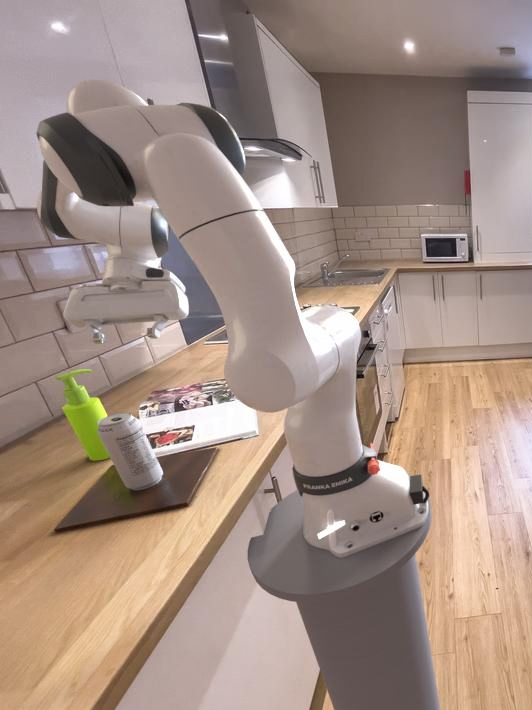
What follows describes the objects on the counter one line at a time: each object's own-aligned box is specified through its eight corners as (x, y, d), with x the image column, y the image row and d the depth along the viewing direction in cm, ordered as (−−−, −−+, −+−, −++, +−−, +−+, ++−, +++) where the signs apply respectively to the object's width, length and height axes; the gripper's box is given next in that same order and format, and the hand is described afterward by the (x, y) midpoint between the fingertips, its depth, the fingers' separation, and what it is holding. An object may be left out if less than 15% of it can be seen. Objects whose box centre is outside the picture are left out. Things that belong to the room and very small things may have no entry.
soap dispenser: (134, 447, 97) (96, 369, 88) (97, 463, 91) (53, 381, 82) (120, 441, 99) (82, 365, 90) (84, 457, 93) (40, 377, 85)
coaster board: (218, 449, 95) (217, 446, 95) (188, 505, 78) (187, 502, 77) (113, 468, 89) (111, 465, 89) (55, 532, 72) (53, 529, 72)
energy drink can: (152, 471, 87) (122, 408, 80) (172, 476, 85) (143, 413, 78) (119, 488, 81) (85, 423, 75) (140, 494, 80) (106, 428, 73)
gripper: (59, 276, 82) (49, 337, 77) (178, 270, 87) (174, 327, 82) (84, 294, 87) (75, 352, 83) (193, 287, 92) (191, 341, 88)
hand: (125, 339), depth 83 cm, fingers open, 8 cm apart
